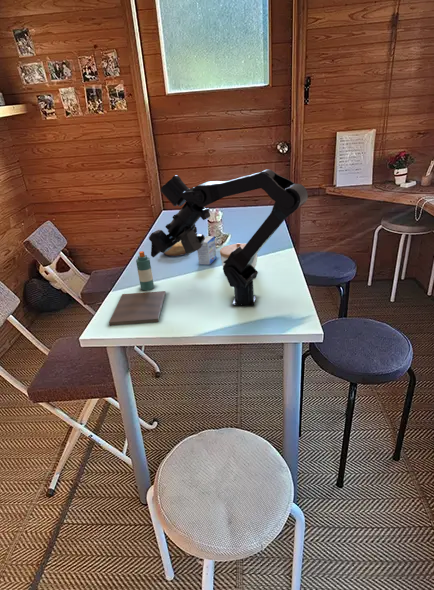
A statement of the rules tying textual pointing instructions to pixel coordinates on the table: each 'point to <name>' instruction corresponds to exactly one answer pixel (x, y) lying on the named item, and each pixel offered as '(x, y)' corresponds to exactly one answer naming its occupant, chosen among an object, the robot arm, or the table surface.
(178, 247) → the pastry
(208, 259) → the medicine box
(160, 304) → the desk board
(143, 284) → the glue bottle
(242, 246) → the lidded bowl
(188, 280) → the table surface
